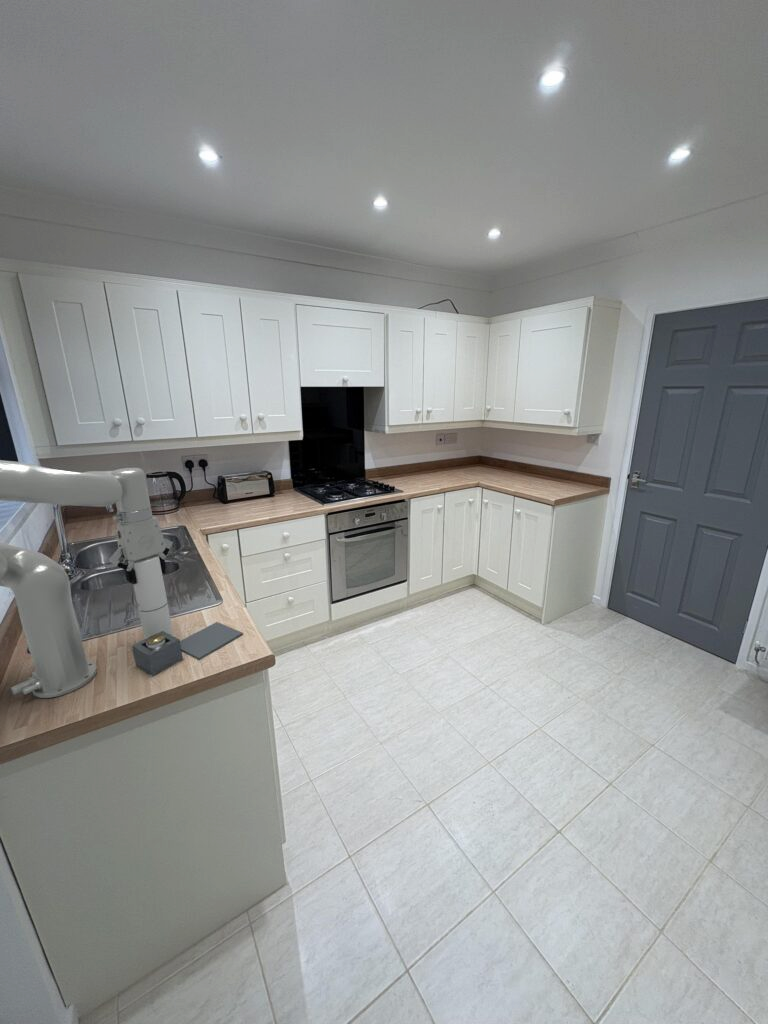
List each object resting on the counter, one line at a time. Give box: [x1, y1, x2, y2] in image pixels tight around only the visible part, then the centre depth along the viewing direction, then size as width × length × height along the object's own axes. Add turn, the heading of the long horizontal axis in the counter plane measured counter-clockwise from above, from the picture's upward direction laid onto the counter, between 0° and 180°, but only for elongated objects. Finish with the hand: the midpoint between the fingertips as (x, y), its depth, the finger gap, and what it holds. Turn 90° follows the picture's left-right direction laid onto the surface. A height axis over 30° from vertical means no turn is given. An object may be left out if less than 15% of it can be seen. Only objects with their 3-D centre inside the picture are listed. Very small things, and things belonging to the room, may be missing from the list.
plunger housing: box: [131, 631, 184, 677], centre depth 104 cm, size 8×8×6 cm
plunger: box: [146, 634, 166, 650], centre depth 104 cm, size 4×4×6 cm
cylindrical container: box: [132, 554, 174, 640], centre depth 112 cm, size 7×7×25 cm
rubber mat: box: [180, 621, 244, 661], centre depth 114 cm, size 14×12×1 cm
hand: (147, 577), depth 110 cm, fingers closed on cylindrical container, 7 cm apart
